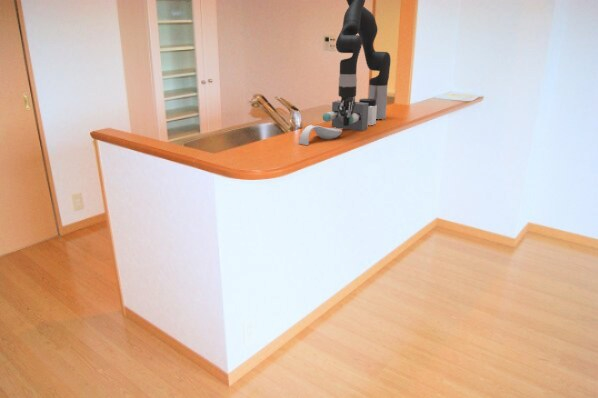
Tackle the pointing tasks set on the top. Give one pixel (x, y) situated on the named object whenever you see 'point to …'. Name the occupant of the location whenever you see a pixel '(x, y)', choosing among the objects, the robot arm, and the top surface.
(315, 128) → the spoon rest
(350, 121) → the knob right
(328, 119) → the knob left
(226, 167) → the top surface
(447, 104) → the top surface
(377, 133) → the top surface
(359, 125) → the panel
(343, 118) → the knob mid
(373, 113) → the jar
